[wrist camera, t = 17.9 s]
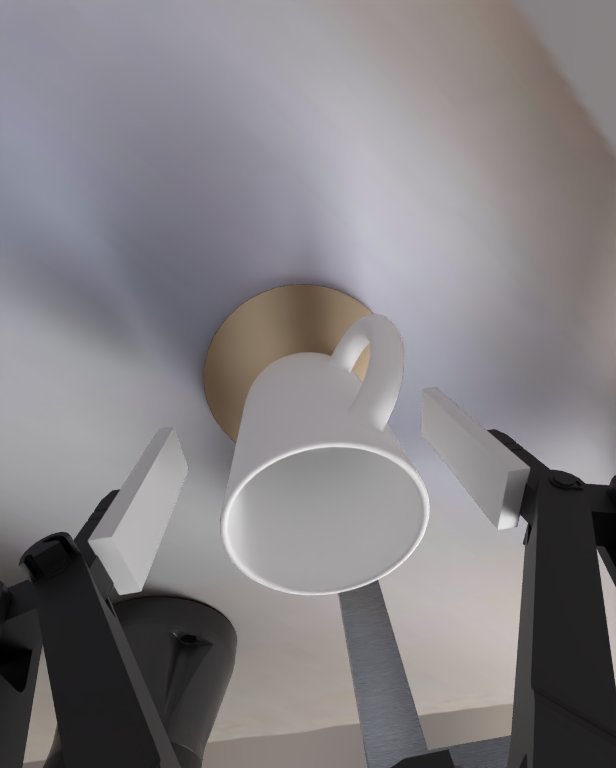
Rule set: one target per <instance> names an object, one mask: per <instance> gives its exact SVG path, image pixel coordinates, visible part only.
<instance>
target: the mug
mask: <svg viewBox="0 0 616 768" xmlns="http://www.w3.org/2000/svg"><path fill="white" fill-rule="evenodd" d="M369 343H370V357H369V363H368V368H367V371H366V375H365V378H364V381H363V382H362V380H361V379H360V378H359V377H358V376H357V374H356V373H355V372H354V371H353V370H352V369H353V367H354V365H355V363H356V361H357V359H358V357H359V356H360V354H361V353H362V351H363V350H364V348H365V347H366V346H367V345H368V344H369ZM403 369H404V347H403V341H402V338H401V335H400V333H399V331H398V329H397V328H396V326H395V324H394V323H393V322H392V321H391V320H389V319H388V318H387V317H385V316H382V315H377V314H373V315H367V316H365V317H362V318H361V319H359V320H358V321H356V322H355V323H354V324H353V325H352V326H351V327H350V328H349V329H348V330H347V331H346V333H345V334H344V335H343V337H342V338H341V340H340V342H339V343H338V345H337V346H336V348H335V350H334V352H333V353H332V355H331V356H329V355H326V354H322V353H314V352H301V353H295V354H291V355H288V356H285V357H283V358H280V359H278V360H276V361H275V362H273V363H271V364H270V365H269V366H267V367H266V368H265V369H264V370H263V371H262V372H261V373H260V374H259V375H258V377H257V378H256V379H255V381H254V382H253V384H252V386H251V388H250V390H249V392H248V395H247V398H246V401H245V405H244V410H243V415H242V419H241V424H240V429H239V433H238V438H237V443H236V447H235V452H234V456H233V461H232V466H231V470H230V475H229V480H228V484H227V489H226V494H225V498H224V503H223V507H222V513H221V518H220V533H221V538H222V542H223V545H224V548H225V550H226V552H227V554H228V556H229V557H230V559H231V561H232V562H233V563H234V564H235V565H236V567H237V568H238V569H239V570H240V571H242V572H243V573H244V574H245V575H246V576H248V577H249V578H251V579H252V580H254V581H256V582H258V583H260V584H262V585H264V586H266V587H269V588H271V589H274V590H278V591H282V592H286V593H292V594H299V595H326V594H334V593H340V592H345V591H349V590H352V589H356V588H359V587H362V586H364V585H367V584H369V583H371V582H374V581H376V580H378V579H380V578H381V577H383V576H385V575H387V574H388V573H390V572H391V571H393V570H394V569H395V568H397V567H398V566H399V565H400V564H401V563H403V562H404V561H405V560H406V559H407V558H408V557H409V556H410V555H411V554H412V552H413V551H414V550H415V548H416V547H417V546H418V544H419V543H420V541H421V539H422V537H423V535H424V533H425V530H426V527H427V524H428V519H429V498H428V493H427V490H426V487H425V484H424V482H423V481H422V479H421V477H420V475H419V474H418V472H417V471H416V469H415V467H414V466H413V464H412V463H411V461H410V459H409V458H408V456H407V454H406V452H405V451H404V449H403V447H402V446H401V444H400V442H399V441H398V439H397V438H396V436H395V434H394V433H393V431H392V430H391V428H390V426H389V424H388V423H387V421H388V419H389V417H390V415H391V413H392V411H393V408H394V406H395V403H396V400H397V397H398V394H399V391H400V387H401V382H402V377H403Z"/></svg>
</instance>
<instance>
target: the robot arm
mask: <svg viewBox="0 0 616 768" xmlns="http://www.w3.org/2000/svg"><path fill="white" fill-rule="evenodd" d="M421 434H422V435H423V436H424V438H425V439H426V440H427V441H428V443H429V444H430V445H431V446H432V448H433V449H434V450H435V451H436V453H437V454H438V455H439V457H440V458H441V459H442V460H443V462H444V463H445V464H446V465H447V467H448V468H449V469H450V470H451V472H452V473H453V474H454V475H455V477H456V478H457V479H458V481H459V482H460V483H461V484H462V486H463V487H464V488H465V489H466V491H467V492H468V493H469V494H470V496H471V497H472V498H473V500H474V501H475V502H476V503H477V505H478V506H479V507H480V508H481V510H482V511H483V512H484V513H485V515H486V516H487V517H488V518H489V520H490V521H491V522H492V524H493V525H494V526H495V527H496V529H497V530H500V529H506V528H512V527H517V526H518V521H519V517H520V515H521V516H522V517H523V518H524V519H525V520H526V521H527V522H528V525H527V529H526V533H525V538H524V542H523V544H524V545H525V556H524V569H523V583H522V596H521V610H520V623H519V637H518V650H517V664H516V678H515V691H514V705H513V718H512V719H513V720H512V732H511V743H510V750H509V756H508V762H507V768H616V686H615V679H614V671H613V664H612V657H611V650H610V643H609V635H608V628H607V621H606V614H605V607H604V599H603V592H602V585H601V578H600V571H599V563H598V556H597V550H598V552H599V554H600V556H601V558H602V560H603V562H604V564H605V566H606V568H607V570H608V572H609V574H610V576H611V578H612V580H613V582H614V584H615V586H616V475H615V476H614V477H613V478H612V480H611V482H610V485H596V484H585V483H584V482H583V481H582V480H581V479H580V478H578V477H576V476H574V475H572V474H570V473H566V472H563V471H558V470H550V469H549V468H548V467H546V466H545V465H544V464H543V463H541V462H540V461H539V460H538V459H536V458H535V457H534V456H533V455H531V454H530V453H529V452H528V451H526V450H524V449H523V447H521V446H520V445H519V444H516V442H515V441H514V440H513V439H512V438H510V437H509V436H508V435H506V434H504V433H502V432H500V431H498V430H495V429H492V430H486V429H485V428H483V427H482V426H481V425H480V424H479V423H478V422H476V421H475V420H474V419H473V418H472V417H471V416H469V415H468V414H467V413H466V412H465V411H464V410H462V409H461V408H460V407H459V406H458V405H457V404H455V403H454V402H453V401H452V400H451V399H450V398H448V397H447V396H446V395H445V394H444V393H443V392H441V391H440V390H439V389H438V388H437V387H435V388H428V389H423V390H422V417H421ZM188 470H189V469H188V466H187V463H186V460H185V457H184V454H183V452H182V449H181V446H180V443H179V440H178V437H177V434H176V431H175V428H174V427H171V428H164V429H159V430H158V432H157V433H156V435H155V436H154V438H153V439H152V441H151V443H150V444H149V446H148V447H147V449H146V450H145V452H144V453H143V455H142V457H141V458H140V460H139V461H138V463H137V464H136V466H135V468H134V469H133V471H132V472H131V474H130V475H129V477H128V478H127V480H126V482H125V483H124V485H123V486H122V488H121V489H119V490H113V491H111V492H110V493H109V494H108V495H107V496H106V497H105V498H103V499H102V500H101V502H100V503H99V504H98V506H97V507H96V509H95V510H94V513H92V515H91V516H90V518H89V519H88V521H87V522H86V523H85V525H84V526H83V528H82V529H81V531H80V532H79V533H78V535H77V536H76V538H75V539H74V541H73V539H72V537H71V536H70V535H69V534H68V533H66V532H59V533H55V534H51V535H49V536H47V537H45V538H43V539H41V540H40V541H38V542H37V543H35V544H33V545H32V546H31V547H30V548H29V549H28V550H27V551H26V552H25V553H24V554H23V556H22V557H21V559H20V562H19V567H20V568H21V569H22V571H23V572H24V573H25V575H26V576H27V577H28V579H29V580H26V581H24V582H21V583H19V584H16V585H14V586H12V587H9V588H7V587H6V586H5V585H4V583H3V582H1V581H0V768H22V766H23V760H24V753H25V747H26V741H27V735H28V729H29V723H30V716H31V710H32V704H33V698H34V692H35V686H36V679H37V673H38V667H39V661H40V655H41V649H42V645H43V647H44V652H45V658H46V663H47V669H48V674H49V679H50V685H51V690H52V696H53V701H54V707H55V712H56V718H57V727H56V732H55V736H54V741H53V744H52V747H51V750H50V753H49V755H48V757H47V760H46V762H45V764H44V766H43V768H201V767H202V761H203V754H204V750H205V747H206V744H207V741H208V738H209V736H210V733H211V730H212V727H213V725H214V722H215V719H216V716H217V714H218V711H219V708H220V706H221V703H222V700H223V697H224V695H225V692H226V689H227V686H228V684H229V681H230V678H231V675H232V673H233V668H234V664H235V655H236V645H237V636H236V632H235V630H234V628H233V626H232V625H231V623H230V622H229V621H228V620H227V619H226V618H225V617H224V616H223V615H221V614H220V613H218V612H217V611H215V610H213V609H211V608H209V607H207V606H205V605H202V604H199V603H196V602H193V601H189V600H184V599H178V598H168V597H149V598H140V599H134V600H129V601H125V602H121V603H118V604H116V605H112V603H111V601H110V599H109V598H108V594H109V592H110V590H111V588H112V586H113V585H114V587H115V589H116V590H117V592H118V594H119V595H124V594H129V593H135V592H141V591H142V588H143V586H144V583H145V581H146V578H147V575H148V573H149V570H150V568H151V565H152V563H153V560H154V557H155V555H156V552H157V550H158V547H159V545H160V542H161V540H162V537H163V534H164V532H165V529H166V527H167V524H168V522H169V519H170V516H171V514H172V511H173V509H174V506H175V504H176V501H177V498H178V496H179V493H180V491H181V488H182V486H183V483H184V480H185V478H186V475H187V473H188ZM596 548H597V549H596ZM391 768H465V767H463V766H459V765H454V763H453V761H452V758H451V755H450V752H449V749H448V750H443V751H438V752H433V753H428V754H423V755H418V756H413V757H408V758H404V759H403V760H401V761H400V762H398V763H397V764H395V765H394V766H392V767H391Z"/></svg>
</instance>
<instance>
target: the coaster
mask: <svg viewBox="0 0 616 768" xmlns="http://www.w3.org/2000/svg"><path fill="white" fill-rule="evenodd" d="M367 315H373V313H372V312H371V311H370V310H369V309H368V308H366V307H365V306H364V305H362V304H361V303H360V302H358V301H357V300H355V299H354V298H352V297H350V296H348V295H346V294H344V293H342V292H339V291H337V290H334V289H331V288H327V287H322V286H318V285H305V284H301V285H288V286H283V287H278V288H274V289H271V290H268V291H265V292H263V293H261V294H259V295H257V296H255V297H253V298H251V299H249V300H248V301H246V302H245V303H243V304H242V305H241V306H239V307H238V308H237V309H236V310H235V311H234V312H233V313H232V314H231V315H229V317H228V318H227V319H226V320H225V322H224V323H223V324H222V325H221V327H220V328H219V330H218V331H217V333H216V335H215V336H214V338H213V340H212V342H211V345H210V347H209V350H208V352H207V356H206V361H205V366H204V389H205V394H206V398H207V402H208V404H209V407H210V410H211V412H212V414H213V416H214V418H215V419H216V421H217V423H218V424H219V425H220V427H221V428H222V429H223V431H224V432H225V433H226V434H227V435H228V436H229V437H230V438H231V439H232V440H233V441H235V442H236V443H237V438H238V433H239V429H240V424H241V419H242V415H243V410H244V405H245V401H246V398H247V395H248V392H249V390H250V388H251V386H252V384H253V382H254V381H255V379H256V378H257V377H258V375H259V374H260V373H261V372H262V371H263V370H264V369H265V368H266V367H267V366H269V365H270V364H271V363H273V362H275V361H276V360H278V359H280V358H283V357H285V356H288V355H291V354H295V353H301V352H314V353H322V354H326V355H329V356H331V355H332V353H333V352H334V350H335V348H336V346H337V345H338V343H339V342H340V340H341V338H342V337H343V335H344V334H345V333H346V331H347V330H348V329H349V328H350V327H351V326H352V325H353V324H354V323H355V322H356V321H358V320H359V319H361V318H362V317H365V316H367ZM369 357H370V343H369V344H368V345H367V346H366V347H365V348H364V350H363V351H362V353H361V354H360V356H359V357H358V359H357V361H356V363H355V365H354V367H353V369H352V370H353V371H354V372H355V373H356V374H357V376H358V377H359V378H360V379H361V380H362V382H363V381H364V378H365V375H366V371H367V368H368V363H369Z"/></svg>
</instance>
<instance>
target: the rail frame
mask: <svg viewBox="0 0 616 768" xmlns="http://www.w3.org/2000/svg"><path fill="white" fill-rule="evenodd" d="M338 596H339V602H340V608H341V613H342V619H343V625H344V631H345V637H346V643H347V649H348V655H349V661H350V667H351V673H352V679H353V685H354V691H355V697H356V703H357V709H358V715H359V721H360V727H361V732H362V738H363V744H364V750H365V756H366V762H367V768H391V767H392V766H394V765H395V764H397V763H398V762H400V761H401V760H403V759H404V758H408V757H413V756H418V755H423V754H428V753H433V752H438V751H443V750H448V749H449V752H450V755H451V758H452V761H453V763H454V765H459V766H463V767H465V768H507V762H508V756H509V750H510V743H511V736H506V737H499V738H494V739H488V740H483V741H477V742H471V743H466V744H460V745H454V746H449V747H443V748H437V749H432V750H428V749H427V745H426V742H425V738H424V735H423V732H422V728H421V725H420V721H419V718H418V715H417V711H416V708H415V704H414V701H413V698H412V694H411V691H410V687H409V684H408V680H407V677H406V674H405V670H404V667H403V663H402V660H401V657H400V653H399V650H398V646H397V643H396V640H395V636H394V633H393V629H392V626H391V623H390V619H389V616H388V612H387V609H386V606H385V602H384V599H383V595H382V592H381V589H380V585H379V582H378V580H376V581H374V582H371V583H369V584H367V585H364V586H362V587H359V588H356V589H352V590H349V591H345V592H340V593H338Z"/></svg>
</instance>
